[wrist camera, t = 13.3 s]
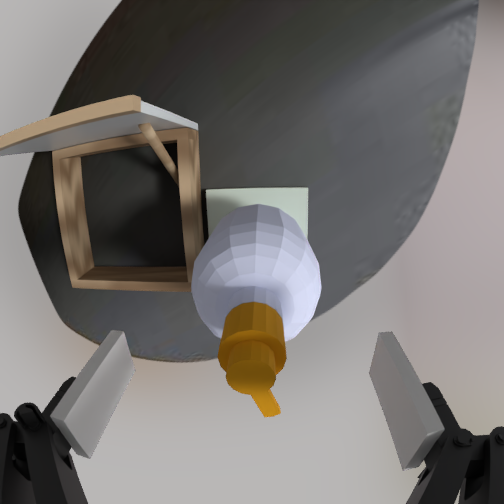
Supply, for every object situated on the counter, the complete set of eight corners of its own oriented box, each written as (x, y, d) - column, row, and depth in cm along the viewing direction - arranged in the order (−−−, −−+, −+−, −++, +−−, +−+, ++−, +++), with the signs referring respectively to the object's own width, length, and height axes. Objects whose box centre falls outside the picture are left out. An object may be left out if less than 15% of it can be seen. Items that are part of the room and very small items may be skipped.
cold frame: (73, 146, 34) (15, 150, 23) (198, 127, 33) (166, 115, 22) (89, 273, 40) (44, 310, 29) (207, 275, 39) (185, 322, 28)
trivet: (207, 189, 36) (205, 189, 35) (307, 186, 35) (308, 187, 34) (213, 280, 39) (212, 283, 39) (305, 279, 39) (305, 282, 38)
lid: (72, 143, 34) (-32, 151, 16) (199, 122, 33) (133, 94, 15) (72, 150, 34) (-32, 162, 16) (199, 130, 33) (133, 110, 15)
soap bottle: (236, 287, 39) (206, 447, 16) (202, 214, 36) (109, 321, 13) (312, 260, 37) (370, 408, 14) (283, 182, 34) (324, 244, 11)
